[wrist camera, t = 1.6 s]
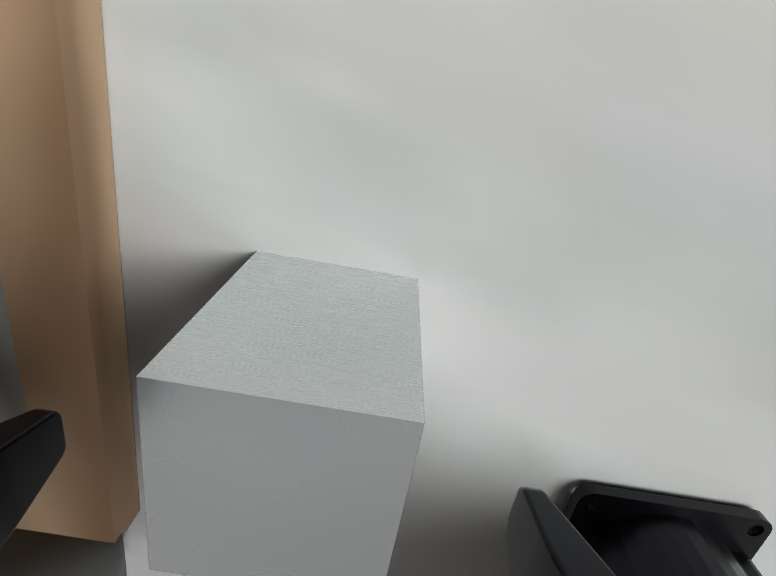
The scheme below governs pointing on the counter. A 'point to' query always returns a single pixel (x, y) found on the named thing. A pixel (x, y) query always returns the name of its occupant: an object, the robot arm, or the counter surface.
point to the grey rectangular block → (284, 424)
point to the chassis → (64, 287)
